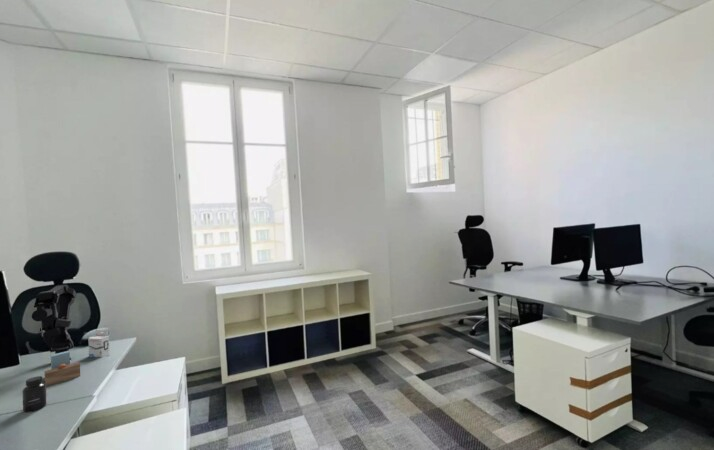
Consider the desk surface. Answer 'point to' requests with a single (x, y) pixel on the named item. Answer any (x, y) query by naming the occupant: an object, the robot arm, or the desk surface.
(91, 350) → the ink box
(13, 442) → the desk surface
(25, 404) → the supplement bottle
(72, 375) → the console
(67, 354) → the blue white block
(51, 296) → the robot arm
